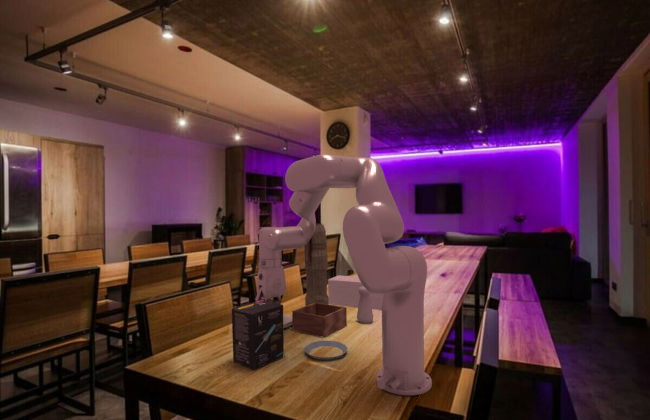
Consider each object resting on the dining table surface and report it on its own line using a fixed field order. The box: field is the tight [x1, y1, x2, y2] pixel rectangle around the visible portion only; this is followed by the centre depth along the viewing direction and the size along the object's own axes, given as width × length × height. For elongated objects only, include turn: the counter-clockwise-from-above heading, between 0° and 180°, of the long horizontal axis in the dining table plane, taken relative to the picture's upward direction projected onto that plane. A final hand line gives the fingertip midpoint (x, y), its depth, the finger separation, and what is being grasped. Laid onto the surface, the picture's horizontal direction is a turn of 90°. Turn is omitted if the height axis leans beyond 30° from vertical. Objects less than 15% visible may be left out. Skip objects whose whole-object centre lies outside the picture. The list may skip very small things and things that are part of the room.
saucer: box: [304, 340, 348, 361], centre depth 100 cm, size 12×12×2 cm
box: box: [291, 302, 348, 338], centre depth 121 cm, size 13×13×7 cm
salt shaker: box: [356, 286, 374, 324], centre depth 127 cm, size 6×6×13 cm
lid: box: [270, 298, 293, 330], centre depth 124 cm, size 14×14×8 cm
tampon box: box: [231, 299, 285, 371], centre depth 98 cm, size 11×9×15 cm
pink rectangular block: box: [327, 274, 384, 311], centre depth 151 cm, size 32×11×11 cm, turn 64°
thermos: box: [304, 222, 330, 307], centre depth 139 cm, size 9×12×35 cm
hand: (271, 315), depth 124 cm, fingers closed on lid, 4 cm apart
